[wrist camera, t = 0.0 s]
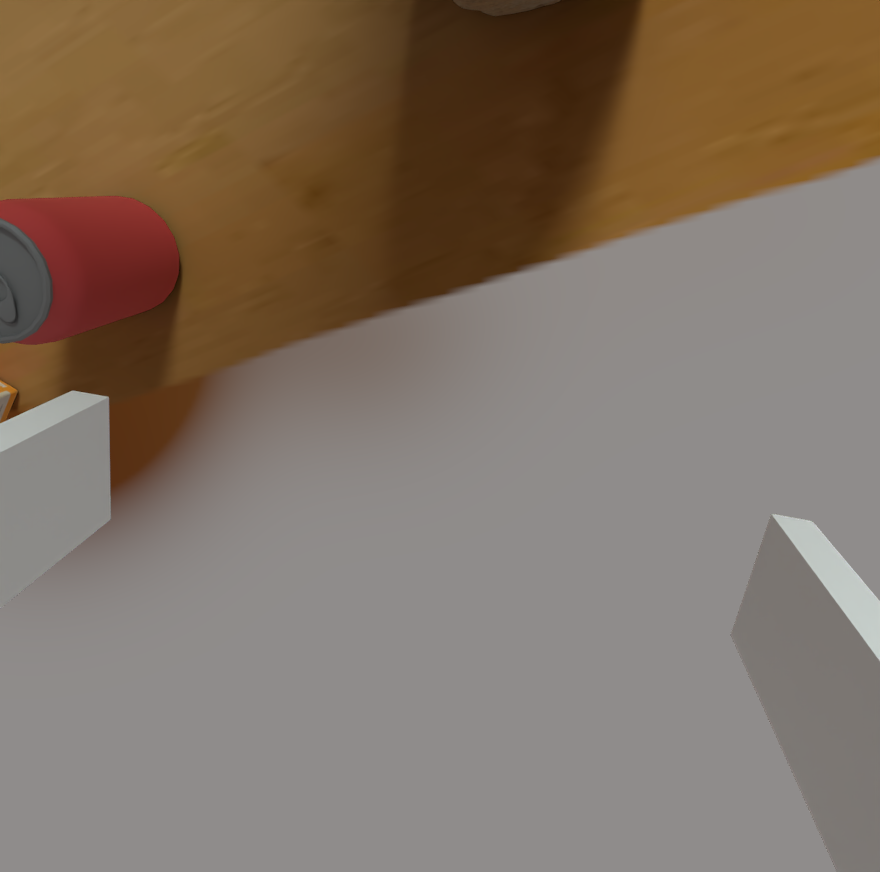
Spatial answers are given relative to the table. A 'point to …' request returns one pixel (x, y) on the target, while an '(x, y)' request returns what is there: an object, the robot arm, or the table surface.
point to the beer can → (80, 265)
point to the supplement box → (6, 399)
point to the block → (503, 5)
